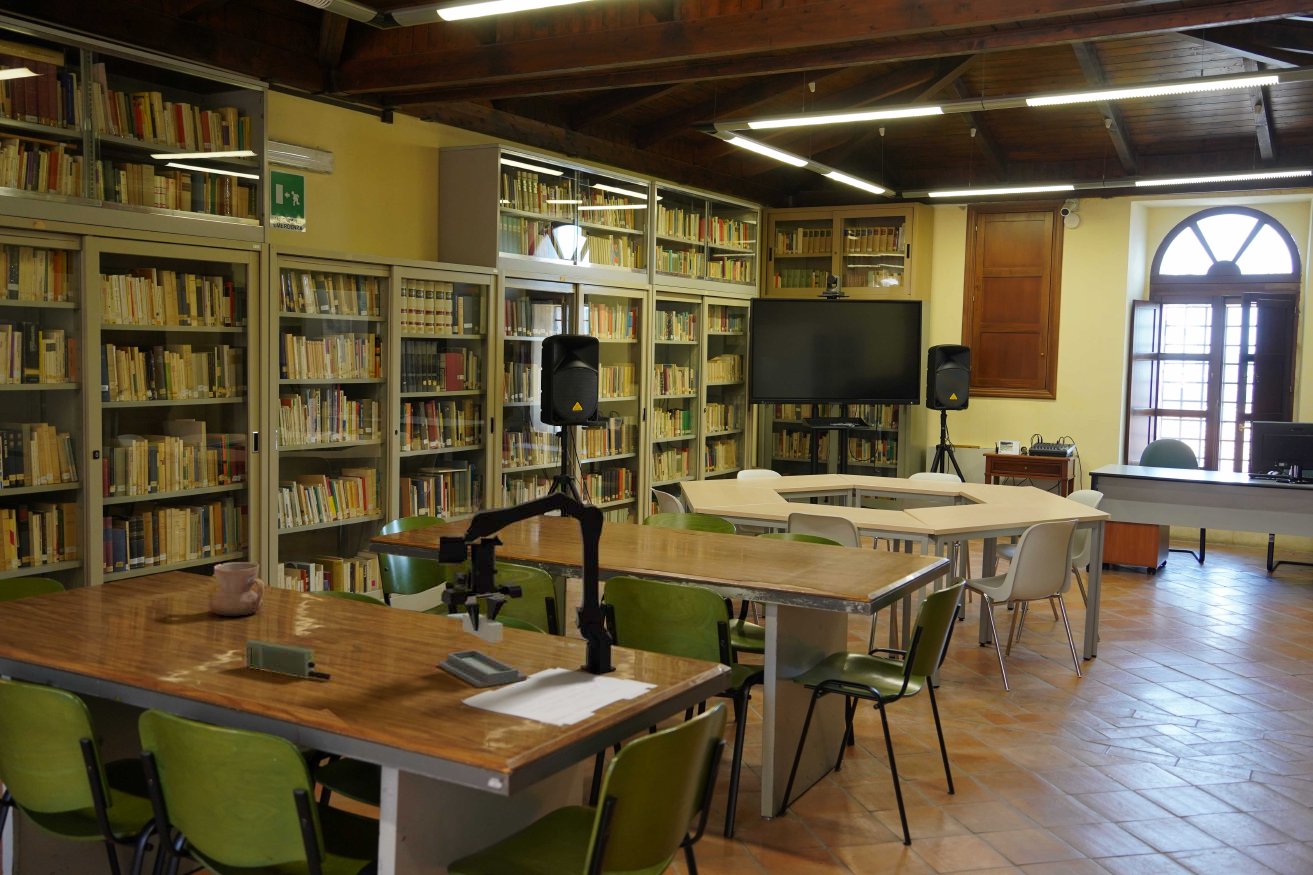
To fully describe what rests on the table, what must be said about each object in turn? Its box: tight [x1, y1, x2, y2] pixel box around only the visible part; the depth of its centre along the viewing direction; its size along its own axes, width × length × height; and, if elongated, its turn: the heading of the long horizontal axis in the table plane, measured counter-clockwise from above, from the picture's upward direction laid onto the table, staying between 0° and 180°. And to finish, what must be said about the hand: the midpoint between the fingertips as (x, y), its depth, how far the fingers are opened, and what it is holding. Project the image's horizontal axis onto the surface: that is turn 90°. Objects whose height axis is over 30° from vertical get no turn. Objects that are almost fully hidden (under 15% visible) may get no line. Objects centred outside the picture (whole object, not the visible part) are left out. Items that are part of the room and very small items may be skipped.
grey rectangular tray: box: [438, 649, 527, 689], centre depth 250 cm, size 22×12×3 cm, turn 35°
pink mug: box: [208, 561, 265, 617], centre depth 307 cm, size 18×14×14 cm
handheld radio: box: [245, 639, 331, 681], centre depth 246 cm, size 7×3×25 cm
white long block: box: [462, 612, 504, 644], centre depth 250 cm, size 15×3×4 cm, turn 35°
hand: (482, 629), depth 250 cm, fingers closed on white long block, 3 cm apart
